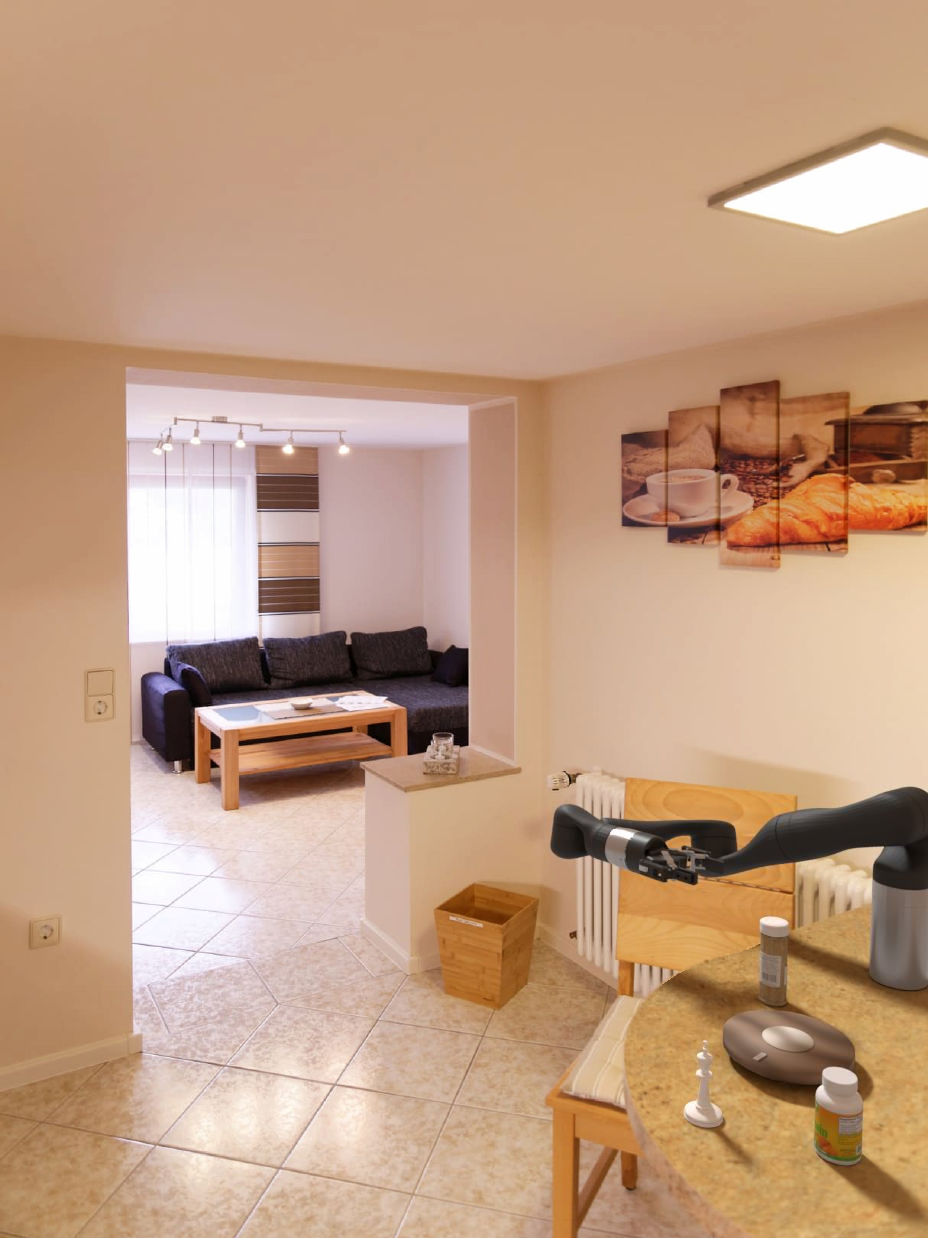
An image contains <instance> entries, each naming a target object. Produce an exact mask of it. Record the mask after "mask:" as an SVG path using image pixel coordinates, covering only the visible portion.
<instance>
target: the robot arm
mask: <svg viewBox="0 0 928 1238" xmlns="http://www.w3.org/2000/svg"><path fill="white" fill-rule="evenodd" d="M683 836H684V837H690V846H688V845H686V844H685V845H684V844H683V845H681V848H680V849H679V848H677V847H668V845H667V842H668V841H671V840H672V839H675V838H677V837H683ZM737 839H738V838H737V831H736V828H735V826H734V825H733V824H732V823H730V822H728V821H725V820H719V819H676V820H675V819H671V820H670V819H669V820H664V819H663V820H637V819H635V820H633V819H626V818H617V817H616V818H614V817H602V818H600V819H599V818H598V817H596V816H594V815H593V813H590V812H589V811H588V810H586V809H584V808H583V807H581V806H579V805H576V804H572V803H564V804H561V805H560V806H559V807H557V808H556V809H555V811H554V814H553V819H552V829H551V836H550V843H549V846H550V851H551V852H552V853H553V854H554V856H556V857H557V858H559V859H562V860H574V859H576V860H577V859H579V858H584V857H588V856H590V857H591V858H593V859H596V860H597V861H598V860H599V861H602V862H605V863H607V864H611V865H614V866H615V867H618V868H620V869H621V870H626V871H627V872H631V873H635V874H638V875H641V876H643V877H646V878H649V879H652V880H654V881H658V882H660V883H668V880H669V881H671V882H677V881H678V882H682V883H684V884H687V885H690V886H696V885H698V883H699V876H701V877H703V878H722V877H728V876H732V875H737V874H740V873H743V872H748V871H751V870H755V869H759V868H760V869H761V868H765V867H771V866H778V865H787V864H793V863H794V864H796V863H801V862H806V861H807V862H808V861H814V860H819V859H822V858H827V857H830V856H834V855H836V854H839V853H841V852H844V851H848V850H852V849H864V848H865V849H866V848H881V847H883V848H882V849H881V852H880V853H879V855H878V856H877V857H876V859H874V862H873V865H872V880H871V881H872V882H871V883H872V884H871V909H870V910H871V912H870V915H871V916H870V936H869V937H870V938H869V939H870V943H869V966H868V967H869V968H868V969H869V970H868V972H869V973H868V974H869V977H870V978H871V979H872V980H873V981H875V982H877V983H879V984H880V985H884V986H886V987H889V988H893V989H897V990H902V991H903V990H905V991H917V990H918V991H919V990H923V989H925V988H926V987H927V986H928V791H927V790H924V789H922V788H920V787H917V786H902V787H899V788H895V789H891V790H886V791H884V792H881V793H878V794H876V795H873V796H871V797H869V798H865V799H863V800H859V801H857V802H855V803H854V802H853V803H851V804H847V805H844V806H840V807H829V808H828V807H827V808H826V807H813V808H811V807H810V808H804V809H797V810H792V811H789V812H783V813H780V814H777V815H775V816H773V817H772V818H771V819H769V820H768V821H766V823H765V824H764V825H763V826H762V827H761V828H760V829H759V830H758V831H757V833H756V834H755V835H754V836H753V837H752V839H751V840H750V841H749V842H748V843H747V844H746V845H745V846H744V847H742V848H740V849H738V840H737ZM688 863H690V864H689V865H688Z"/></svg>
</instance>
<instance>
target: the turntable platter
mask: <svg viewBox="0 0 928 1238" xmlns="http://www.w3.org/2000/svg"><path fill="white" fill-rule="evenodd" d="M722 1045H723V1048H724V1050H725V1052H726V1053H727V1054H728V1056H730V1057H731V1059H732V1060H733V1061H735V1062H736V1063H737V1064H739V1065H740V1066H742V1067H743V1068H745V1069H747V1070H749V1071H750V1072H752V1073H755V1074H756V1075H757V1074H758V1075H760V1076H761V1077H764V1076H765V1077H764V1078H767V1077H768V1078H767V1079H769V1078H771V1079H770V1080H772V1079H775V1080H779V1081H783V1082H788V1083H795V1084H806V1085H805V1086H811V1085H823V1084H822V1073H823V1070H824V1069H826V1068H828V1067H840V1068H844V1069H847V1070H849V1071H851V1072H853V1071H854V1069H855V1066H856V1048H855V1046H854V1044H853V1042H852V1041H851V1040H850V1038H849V1037H848V1036H847V1035H846V1034H845V1033H843V1032H842V1031H841V1030H840V1029H837V1028H836V1027H835V1026H833V1025H831V1024H829V1023H827V1022H825V1021H822V1020H820V1019H818V1018H814V1017H812V1016H809V1015H805V1014H802V1013H797V1012H793V1011H789V1010H788V1011H786V1010H781V1009H779V1010H778V1009H758V1010H757V1009H755V1010H749V1011H748V1010H747V1011H744V1012H740V1013H737V1014H736V1015H733V1016H731V1017H730V1018H728V1019H727V1021H725V1023H724V1025H723V1027H722ZM775 1080H774V1081H775ZM779 1081H778V1082H779ZM783 1082H782V1083H783Z"/></svg>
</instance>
